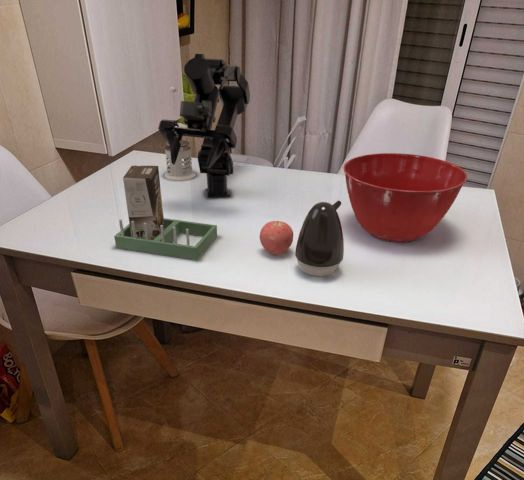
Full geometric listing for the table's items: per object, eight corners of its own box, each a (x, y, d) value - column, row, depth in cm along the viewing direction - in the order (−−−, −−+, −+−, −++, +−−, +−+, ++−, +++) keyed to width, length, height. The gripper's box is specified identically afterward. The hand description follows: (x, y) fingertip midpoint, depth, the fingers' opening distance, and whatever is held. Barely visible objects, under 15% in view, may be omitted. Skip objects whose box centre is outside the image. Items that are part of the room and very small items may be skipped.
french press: (160, 179, 153) (150, 88, 138) (171, 167, 162) (163, 81, 147) (190, 181, 152) (184, 90, 137) (200, 169, 161) (196, 83, 146)
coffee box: (159, 247, 115) (151, 178, 106) (131, 247, 115) (121, 177, 105) (166, 231, 123) (159, 164, 113) (140, 231, 122) (130, 164, 113)
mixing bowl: (324, 244, 119) (331, 179, 109) (349, 203, 140) (356, 146, 131) (446, 265, 111) (465, 197, 102) (453, 219, 133) (469, 159, 123)
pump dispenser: (351, 271, 108) (361, 203, 99) (320, 287, 102) (327, 216, 93) (315, 255, 114) (321, 189, 105) (284, 270, 108) (288, 201, 99)
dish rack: (142, 226, 125) (138, 199, 121) (217, 236, 121) (216, 209, 116) (116, 248, 115) (111, 219, 111) (197, 260, 111) (195, 231, 106)
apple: (298, 253, 114) (301, 220, 109) (275, 263, 110) (276, 229, 106) (277, 242, 119) (278, 210, 114) (253, 251, 115) (254, 218, 110)
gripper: (157, 82, 117) (141, 143, 115) (232, 88, 113) (217, 151, 111) (173, 111, 128) (159, 168, 126) (242, 118, 124) (229, 176, 122)
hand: (190, 165), depth 121 cm, fingers open, 9 cm apart
